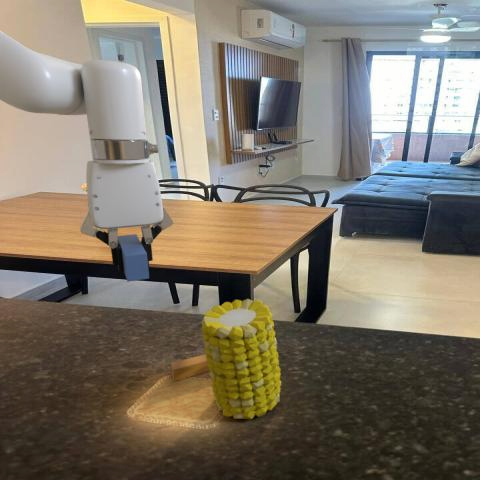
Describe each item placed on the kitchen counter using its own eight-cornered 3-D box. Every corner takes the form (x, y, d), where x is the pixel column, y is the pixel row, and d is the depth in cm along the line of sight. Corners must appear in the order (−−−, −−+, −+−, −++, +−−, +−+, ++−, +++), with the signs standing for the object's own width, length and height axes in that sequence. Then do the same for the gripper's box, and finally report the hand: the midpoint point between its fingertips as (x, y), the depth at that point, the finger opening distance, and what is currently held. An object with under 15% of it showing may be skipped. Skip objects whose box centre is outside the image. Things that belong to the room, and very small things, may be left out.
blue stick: (149, 278, 58) (146, 253, 57) (127, 281, 56) (124, 256, 55) (138, 255, 68) (136, 234, 67) (119, 258, 66) (117, 236, 65)
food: (285, 425, 52) (209, 437, 50) (277, 359, 62) (213, 367, 60) (282, 343, 44) (193, 354, 43) (274, 284, 54) (201, 290, 53)
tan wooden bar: (174, 381, 58) (172, 370, 57) (171, 374, 59) (170, 363, 59) (249, 359, 64) (249, 349, 63) (245, 353, 65) (245, 343, 65)
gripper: (172, 150, 64) (180, 253, 69) (55, 150, 56) (74, 268, 61) (183, 153, 58) (190, 266, 63) (53, 154, 50) (74, 284, 55)
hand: (133, 266), depth 62 cm, fingers closed on blue stick, 3 cm apart
